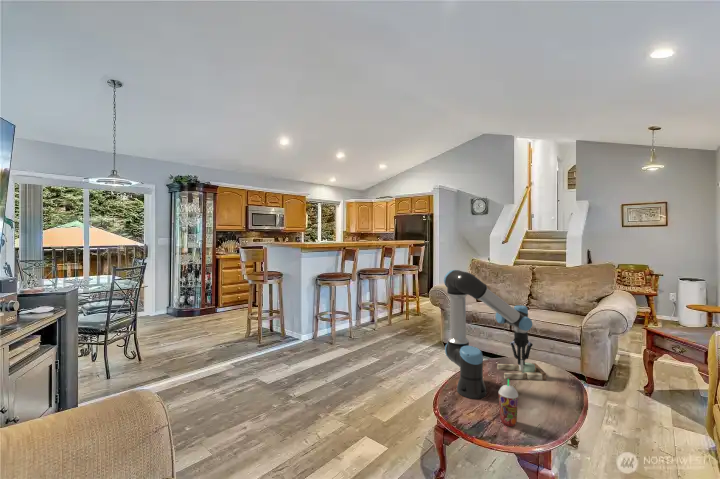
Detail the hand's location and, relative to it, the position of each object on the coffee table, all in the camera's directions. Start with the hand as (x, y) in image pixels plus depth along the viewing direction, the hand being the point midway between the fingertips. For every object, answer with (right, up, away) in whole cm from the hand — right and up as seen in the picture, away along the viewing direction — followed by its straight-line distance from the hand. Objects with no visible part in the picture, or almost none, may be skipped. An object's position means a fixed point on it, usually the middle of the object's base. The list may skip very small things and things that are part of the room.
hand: (521, 369), depth 205 cm
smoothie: (-31, -4, -52) cm, 60 cm away
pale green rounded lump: (+4, -3, -1) cm, 5 cm away
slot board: (0, -3, 0) cm, 3 cm away
